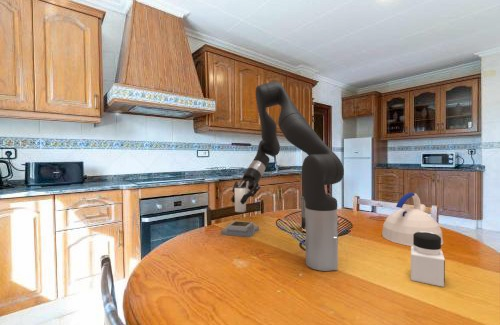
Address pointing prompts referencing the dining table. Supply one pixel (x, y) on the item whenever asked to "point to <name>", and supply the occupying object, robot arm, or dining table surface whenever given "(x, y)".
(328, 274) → the dining table surface
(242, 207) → the pale grey canister
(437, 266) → the medicine bottle
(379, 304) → the dining table surface
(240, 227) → the hub plate
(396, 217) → the kettle
